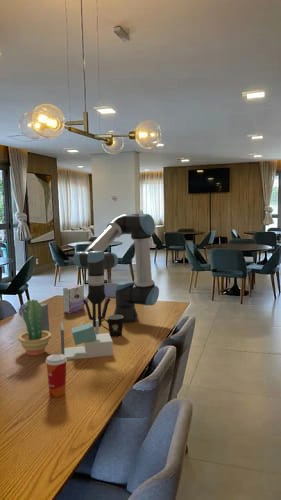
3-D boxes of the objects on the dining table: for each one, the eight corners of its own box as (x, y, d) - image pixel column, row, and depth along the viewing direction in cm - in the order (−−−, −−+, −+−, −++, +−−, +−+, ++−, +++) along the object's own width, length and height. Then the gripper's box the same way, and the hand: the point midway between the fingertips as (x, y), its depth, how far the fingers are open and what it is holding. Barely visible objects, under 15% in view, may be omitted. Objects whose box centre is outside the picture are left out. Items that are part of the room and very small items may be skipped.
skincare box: (43, 336, 203) (42, 307, 202) (31, 335, 205) (29, 306, 203) (50, 331, 212) (49, 303, 210) (38, 330, 213) (37, 302, 211)
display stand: (108, 346, 188) (108, 318, 186) (112, 355, 177) (112, 325, 175) (61, 350, 183) (60, 322, 181) (62, 360, 171) (61, 330, 170)
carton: (94, 334, 183) (91, 322, 182) (96, 338, 176) (93, 326, 175) (74, 340, 181) (71, 328, 180) (75, 345, 174) (72, 333, 173)
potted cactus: (24, 345, 190) (22, 296, 187) (55, 345, 189) (53, 296, 186) (13, 357, 174) (11, 304, 172) (47, 358, 174) (45, 304, 171)
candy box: (78, 307, 260) (77, 284, 258) (84, 309, 257) (84, 285, 255) (63, 312, 249) (62, 287, 247) (69, 313, 246) (69, 288, 244)
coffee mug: (126, 333, 206) (126, 315, 205) (119, 338, 198) (118, 320, 197) (107, 330, 211) (107, 313, 210) (99, 335, 203) (99, 317, 202)
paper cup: (48, 389, 144) (47, 353, 142) (69, 388, 145) (67, 352, 143) (45, 399, 136) (43, 362, 135) (66, 398, 137) (65, 361, 135)
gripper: (83, 286, 172) (84, 337, 174) (111, 284, 175) (112, 334, 177) (81, 283, 179) (82, 332, 181) (108, 282, 182) (109, 330, 184)
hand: (97, 333), depth 179 cm, fingers closed
